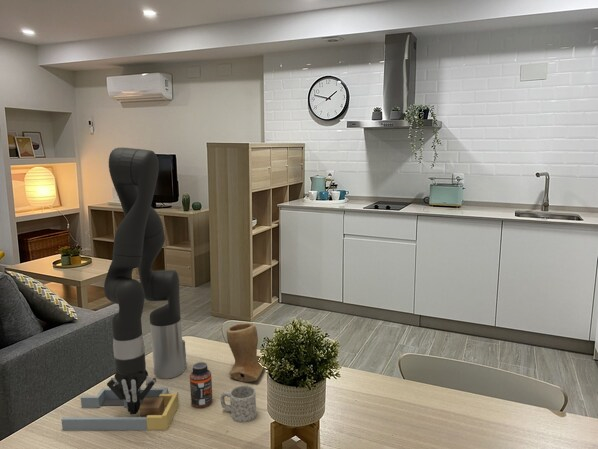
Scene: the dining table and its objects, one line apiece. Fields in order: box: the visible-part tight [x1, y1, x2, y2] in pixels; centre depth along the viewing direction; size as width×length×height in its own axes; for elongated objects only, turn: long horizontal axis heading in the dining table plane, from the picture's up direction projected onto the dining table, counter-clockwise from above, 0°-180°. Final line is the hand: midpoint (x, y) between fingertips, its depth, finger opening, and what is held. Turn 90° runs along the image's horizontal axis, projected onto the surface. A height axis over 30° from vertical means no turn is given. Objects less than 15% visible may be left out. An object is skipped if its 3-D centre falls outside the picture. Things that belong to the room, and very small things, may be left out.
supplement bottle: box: [189, 361, 214, 409], centre depth 129 cm, size 6×6×11 cm
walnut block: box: [138, 397, 165, 417], centre depth 123 cm, size 5×5×4 cm
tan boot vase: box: [226, 322, 265, 383], centre depth 146 cm, size 15×12×15 cm
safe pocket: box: [146, 391, 180, 431], centre depth 123 cm, size 5×11×4 cm, turn 178°
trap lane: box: [61, 387, 170, 431], centre depth 126 cm, size 23×15×3 cm, turn 88°
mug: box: [220, 385, 257, 423], centre depth 124 cm, size 10×7×7 cm
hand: (134, 412), depth 123 cm, fingers closed
